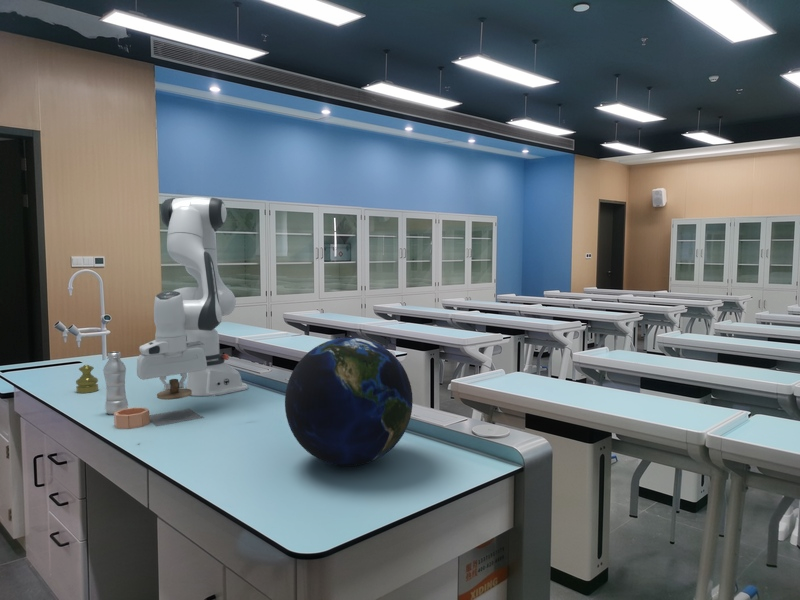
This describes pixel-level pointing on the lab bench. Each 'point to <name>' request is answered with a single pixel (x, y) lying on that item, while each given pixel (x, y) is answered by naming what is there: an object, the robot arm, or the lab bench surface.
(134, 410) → the bowl
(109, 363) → the plastic bottle
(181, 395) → the lid
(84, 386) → the gold chess piece
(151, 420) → the mat
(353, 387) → the globe
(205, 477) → the lab bench surface
